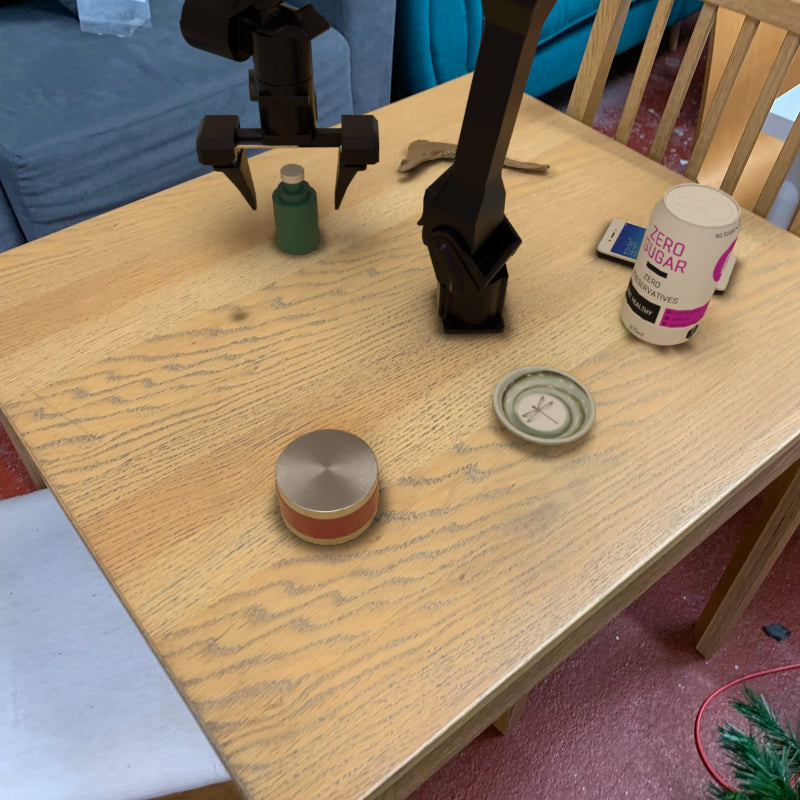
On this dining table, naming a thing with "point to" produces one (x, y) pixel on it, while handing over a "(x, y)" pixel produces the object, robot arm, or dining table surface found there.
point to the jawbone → (449, 156)
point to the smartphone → (626, 244)
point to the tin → (327, 486)
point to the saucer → (544, 405)
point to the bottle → (295, 212)
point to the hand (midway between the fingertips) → (296, 208)
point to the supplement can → (680, 263)
